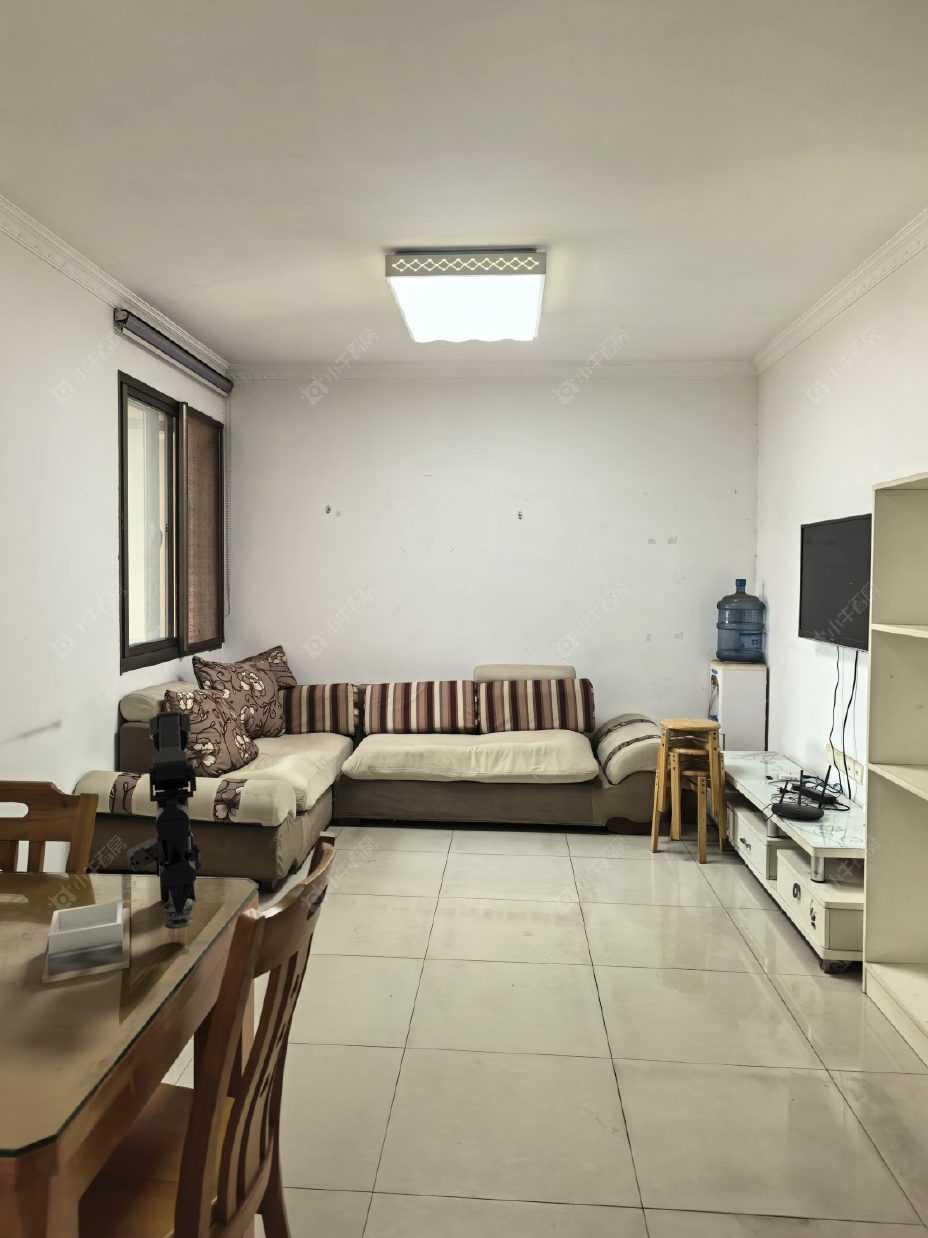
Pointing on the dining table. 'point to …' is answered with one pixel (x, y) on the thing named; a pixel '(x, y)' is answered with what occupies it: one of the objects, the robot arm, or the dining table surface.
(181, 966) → the dining table surface
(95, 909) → the white tray
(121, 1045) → the dining table surface
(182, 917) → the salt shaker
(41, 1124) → the dining table surface
